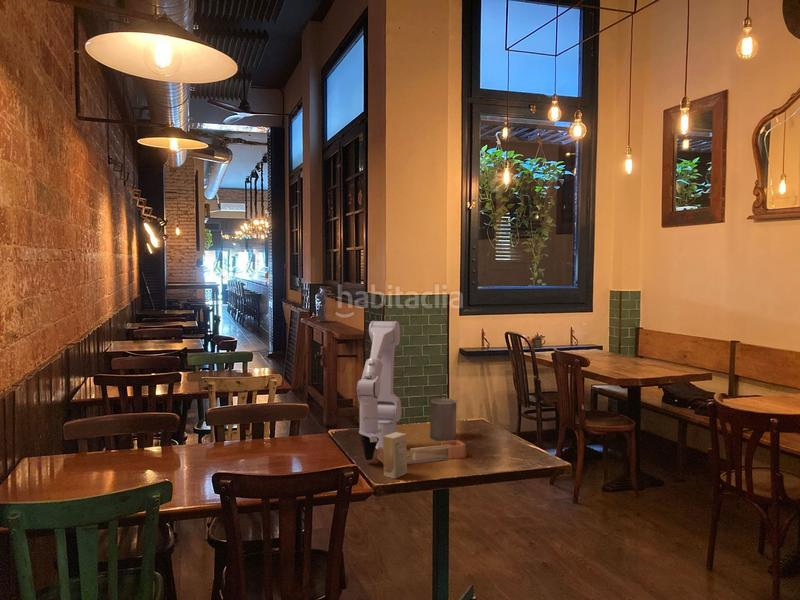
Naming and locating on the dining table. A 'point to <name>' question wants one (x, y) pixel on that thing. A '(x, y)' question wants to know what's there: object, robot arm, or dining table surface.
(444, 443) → the pink open box
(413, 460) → the guide rails
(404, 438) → the skincare box
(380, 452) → the cap sliding
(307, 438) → the dining table surface
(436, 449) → the pale wooden block
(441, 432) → the pillar candle
